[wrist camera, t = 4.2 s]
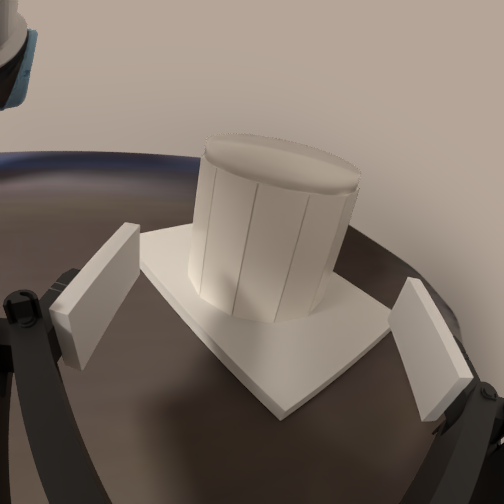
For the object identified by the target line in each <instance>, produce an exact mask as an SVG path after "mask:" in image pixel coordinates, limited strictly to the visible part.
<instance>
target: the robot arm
mask: <svg viewBox="0 0 504 504" xmlns="http://www.w3.org/2000/svg"><path fill="white" fill-rule="evenodd" d="M17 7H18V0H0V111H2V110H4V109H6V108H12V107H17V106H19V105H20V104H22V102H23V101H24V99H25V97H26V93H27V89H28V83H29V78H30V71H31V66H32V62H33V57H34V52H35V47H36V41H37V35H38V34H37V31H36V30H31V29H27V24H26V21H25V19H24V18H23V17H22V16H21V15H20V14H19V13H17ZM139 274H140V225H137V224H132V223H127V222H125V223H124V224H123V225H122V226H121V227H120V228H119V229H118V230H117V231H116V233H115V234H114V235H113V236H112V237H111V238H110V239H109V240H108V241H107V242H106V243H105V244H104V245H103V246H102V248H101V249H100V250H99V251H98V252H97V253H96V254H95V255H94V256H93V257H92V259H91V260H90V261H89V262H88V263H87V264H86V265H85V266H84V268H83V269H82V270H78V269H74V268H72V269H71V270H69V271H67V272H65V273H63V274H62V275H61V276H60V277H59V279H58V280H57V281H56V283H54V284H53V285H52V286H51V289H49V290H48V291H47V292H46V293H45V294H44V295H43V297H42V298H41V299H40V300H38V297H37V295H36V294H35V293H34V292H33V291H30V290H18V291H15V292H13V293H11V294H10V295H8V296H7V297H6V299H5V300H4V303H3V307H4V310H5V313H6V316H7V319H6V318H0V504H11V496H10V483H9V460H8V435H9V411H10V397H11V386H12V377H13V373H15V379H16V385H17V391H18V396H19V401H20V406H21V411H22V416H23V420H24V424H25V429H26V433H27V437H28V440H29V444H30V448H31V451H32V455H33V458H34V461H35V464H36V468H37V471H38V474H39V477H40V480H41V482H42V485H43V488H44V491H45V493H46V496H47V499H48V501H49V504H112V502H111V500H110V498H109V497H108V495H107V493H106V491H105V489H104V487H103V485H102V482H101V480H100V478H99V476H98V474H97V472H96V470H95V467H94V465H93V463H92V461H91V458H90V456H89V454H88V451H87V449H86V447H85V444H84V442H83V439H82V437H81V434H80V431H79V429H78V426H77V423H76V421H75V418H74V415H73V412H72V409H71V406H70V403H69V400H68V397H67V394H66V391H65V388H64V384H63V381H62V377H61V374H60V370H59V367H58V364H57V362H58V360H59V358H60V357H61V355H62V357H63V361H64V364H65V365H66V366H69V367H72V368H74V369H77V370H80V371H83V369H84V367H85V365H86V364H87V362H88V360H89V358H90V356H91V355H92V353H93V351H94V349H95V347H96V346H97V344H98V342H99V340H100V339H101V337H102V335H103V333H104V332H105V330H106V328H107V327H108V325H109V323H110V322H111V320H112V318H113V317H114V315H115V313H116V312H117V310H118V308H119V307H120V305H121V303H122V302H123V300H124V298H125V297H126V295H127V294H128V292H129V290H130V289H131V287H132V286H133V284H134V282H135V281H136V279H137V278H138V276H139ZM387 321H388V323H389V326H390V328H391V331H392V334H393V336H394V339H395V342H396V345H397V347H398V350H399V353H400V356H401V359H402V361H403V364H404V367H405V370H406V373H407V376H408V379H409V382H410V385H411V388H412V391H413V394H414V397H415V401H416V404H417V407H418V410H419V414H420V417H421V420H422V422H423V421H436V420H437V419H438V418H439V417H440V416H441V415H442V414H443V413H445V416H446V419H445V420H444V421H443V422H442V423H441V424H440V425H439V426H438V427H437V428H436V429H435V430H434V431H433V433H432V434H433V435H434V434H435V433H436V432H438V433H437V435H436V437H435V439H434V441H433V443H432V445H431V447H430V450H429V452H428V454H427V456H426V457H425V459H424V461H423V463H422V465H421V467H420V469H419V471H418V473H417V474H416V476H415V478H414V480H413V482H412V483H411V485H410V487H409V488H408V490H407V492H406V493H405V495H404V497H403V498H402V500H401V502H400V503H399V504H504V443H503V444H501V439H502V438H503V437H504V398H502V397H498V394H497V392H496V390H495V389H494V387H492V386H491V385H490V384H488V383H486V382H481V381H480V379H479V377H478V375H477V373H476V371H475V369H474V367H473V365H472V363H471V361H470V360H469V357H468V355H467V354H466V351H465V349H464V347H463V345H462V344H461V343H460V341H459V340H458V339H457V338H456V337H455V336H452V334H451V332H450V330H449V328H448V327H447V325H446V323H445V321H444V319H443V318H442V316H441V314H440V312H439V311H438V309H437V307H436V305H435V304H434V302H433V300H432V298H431V297H430V295H429V293H428V292H427V290H426V288H425V287H424V285H423V283H422V282H421V280H420V279H415V278H410V277H408V278H407V280H406V282H405V284H404V286H403V288H402V291H401V293H400V295H399V297H398V299H397V301H396V303H395V305H394V307H393V309H392V311H391V313H390V315H389V317H388V319H387Z"/></svg>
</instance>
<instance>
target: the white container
mask: <svg viewBox="0 0 504 504" xmlns="http://www.w3.org/2000/svg"><path fill="white" fill-rule="evenodd" d="M360 176H361V172H360V170H359V169H358V168H357V167H356V166H354V165H353V164H351V163H349V162H348V161H345V160H344V159H342V158H340V157H337V156H335V155H332V154H330V153H327V152H325V151H322V150H319V149H316V148H313V147H309V146H306V145H303V144H299V143H295V142H290V141H287V140H282V139H277V138H271V137H265V136H257V135H248V134H217V135H213V136H210V137H208V138H207V139H206V146H205V152H204V154H203V155H202V156H201V163H200V170H199V178H198V185H197V193H196V201H195V210H194V218H193V227H192V237H191V246H190V257H189V267H188V276H189V278H190V279H191V281H192V283H193V285H194V287H195V289H196V291H197V293H198V295H199V296H200V297H201V298H202V299H204V300H205V301H207V302H209V303H210V304H212V305H214V306H215V307H217V308H218V309H220V310H222V311H223V312H225V313H227V314H228V315H230V316H232V315H233V316H232V317H237V318H242V319H248V320H253V321H259V322H265V323H271V324H273V323H274V324H276V323H281V322H285V321H290V320H294V319H298V318H303V317H307V316H308V315H309V314H310V313H311V312H312V311H313V310H314V308H315V307H316V306H317V305H318V304H319V303H320V301H321V300H322V299H323V296H324V293H325V291H326V288H327V285H328V283H329V280H330V277H331V274H332V271H333V269H334V266H335V263H336V260H337V257H338V254H339V251H340V248H341V245H342V242H343V239H344V236H345V233H346V230H347V227H348V224H349V221H350V218H351V215H352V212H353V208H354V205H355V202H356V199H357V196H358V192H359V187H358V183H359V179H360Z"/></svg>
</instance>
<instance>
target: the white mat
mask: <svg viewBox="0 0 504 504" xmlns="http://www.w3.org/2000/svg"><path fill="white" fill-rule="evenodd" d="M192 227H193V223H192V224H187V225H182V226H176V227H171V228H166V229H161V230H156V231H151V232H146V233H141V234H140V269H141V270H142V271H143V273H144V274H145V275H146V276H147V278H148V279H149V280H150V281H151V282H152V284H153V285H154V286H155V287H156V288H157V290H158V291H159V292H160V293H161V294H162V296H163V297H164V298H165V299H166V300H167V302H168V303H169V304H170V305H171V306H172V307H173V309H174V310H175V311H176V312H177V313H178V314H179V316H180V317H181V318H182V319H183V320H184V321H185V322H186V324H187V325H188V326H189V327H190V328H191V329H192V330H193V331H194V333H195V334H196V335H197V336H198V337H199V338H200V339H201V340H202V341H203V343H204V344H205V345H206V346H207V347H208V348H209V349H210V350H211V351H212V352H213V353H214V354H215V356H216V357H217V358H218V359H219V360H220V361H221V362H222V363H223V364H224V365H225V366H226V367H227V368H228V369H229V370H230V371H231V372H232V373H233V374H234V375H235V377H236V378H237V379H238V380H239V381H240V382H241V383H242V384H243V385H244V386H245V387H246V388H247V389H248V390H249V391H250V392H251V393H252V394H253V395H254V396H255V397H256V398H257V399H258V400H259V401H260V402H261V403H262V404H263V405H264V406H266V407H267V408H268V409H269V410H270V411H271V412H272V413H273V414H274V415H275V416H276V417H277V418H278V419H279V420H280V421H281V420H283V419H284V418H285V417H287V416H288V415H290V414H291V413H292V412H294V411H295V410H296V409H298V408H299V407H300V406H302V405H303V404H305V403H306V402H307V401H308V400H310V399H311V398H312V397H314V396H315V395H316V394H318V393H319V392H320V391H321V390H323V389H324V388H325V387H327V386H328V385H329V384H330V383H332V382H333V381H334V380H335V379H336V378H338V377H339V376H340V375H341V374H343V373H344V372H345V371H346V370H347V369H349V368H350V367H351V366H352V365H353V364H354V363H356V362H357V361H358V360H359V359H360V358H361V357H362V356H364V355H365V354H366V353H367V352H368V351H369V350H370V349H372V348H373V347H374V346H375V345H376V344H377V343H378V342H379V341H380V340H381V339H382V338H384V337H385V336H386V335H387V334H388V333H389V332H390V331H391V328H390V326H389V323H388V321H387V319H388V317H389V315H390V313H391V311H392V310H390V309H389V308H387V307H386V306H384V305H383V304H381V303H380V302H378V301H377V300H375V299H374V298H372V297H371V296H369V295H368V294H366V293H365V292H363V291H362V290H360V289H359V288H357V287H356V286H354V285H353V284H351V283H350V282H348V281H347V280H345V279H344V278H342V277H341V276H339V275H338V274H336V273H335V272H333V271H332V274H331V277H330V280H329V283H328V285H327V288H326V291H325V293H324V296H323V299H322V300H321V301H320V303H319V304H318V305H317V306H316V307H315V308H314V310H313V311H312V312H311V313H310V314H309V315H308V316H307V317H303V318H298V319H294V320H290V321H285V322H281V323H276V324H274V323H273V324H271V323H265V322H259V321H253V320H248V319H242V318H237V317H232V316H233V315H232V316H230V315H228V314H227V313H225V312H223V311H222V310H220V309H218V308H217V307H215V306H214V305H212V304H210V303H209V302H207V301H205V300H204V299H202V298H201V297H200V296H199V295H198V293H197V291H196V289H195V287H194V285H193V283H192V281H191V279H190V278H189V276H188V267H189V257H190V246H191V237H192Z"/></svg>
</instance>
